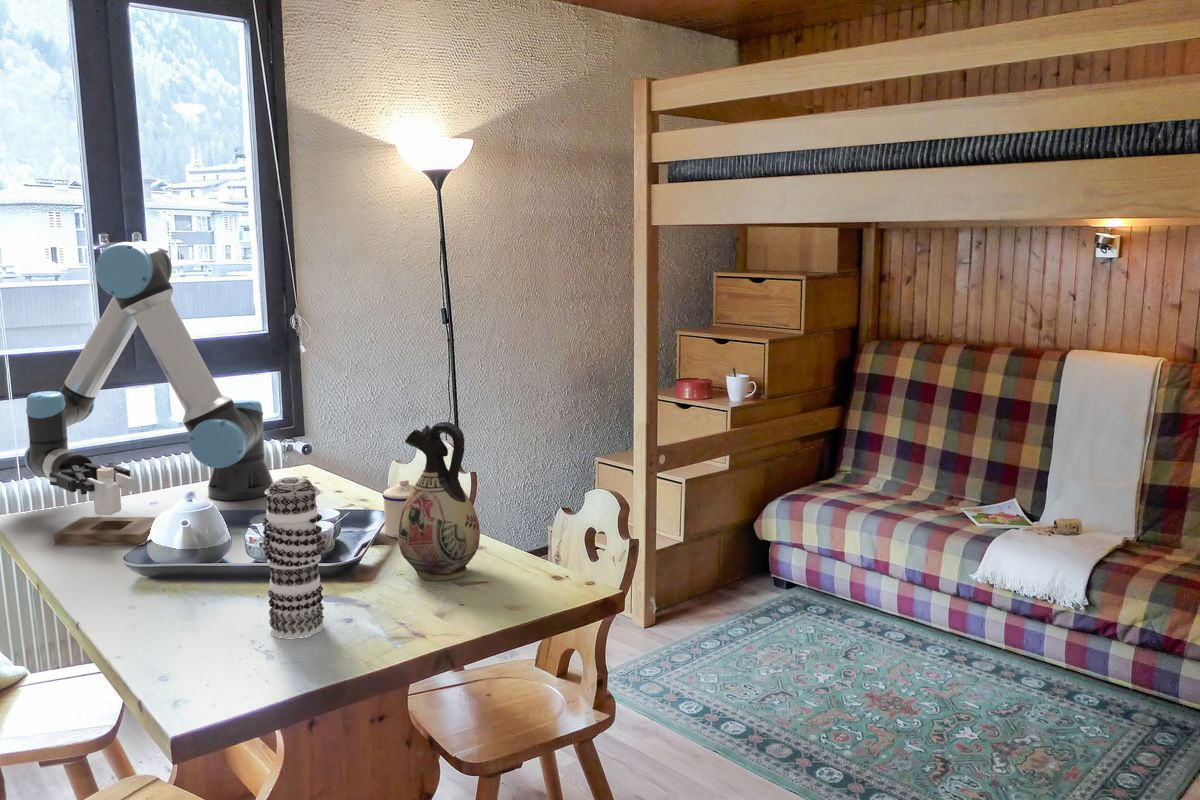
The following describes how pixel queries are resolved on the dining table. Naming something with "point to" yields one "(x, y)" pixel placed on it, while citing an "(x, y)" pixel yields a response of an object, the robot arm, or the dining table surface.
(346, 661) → the dining table surface
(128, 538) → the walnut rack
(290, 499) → the decorative candle
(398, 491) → the teacup with lid
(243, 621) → the dining table surface
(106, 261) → the robot arm
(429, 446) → the ceramic jug
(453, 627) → the dining table surface
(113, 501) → the salt shaker
